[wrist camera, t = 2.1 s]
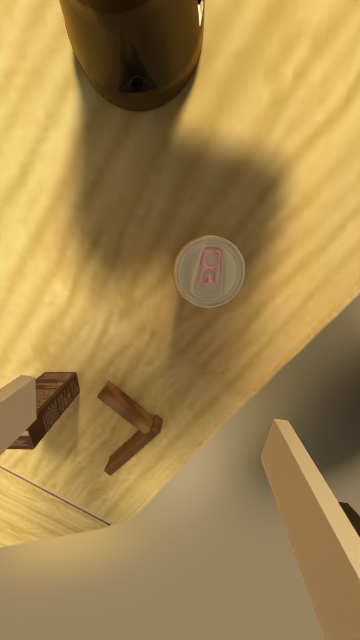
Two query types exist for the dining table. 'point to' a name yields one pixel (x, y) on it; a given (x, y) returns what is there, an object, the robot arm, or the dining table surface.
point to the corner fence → (136, 417)
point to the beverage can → (209, 271)
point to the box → (48, 406)
